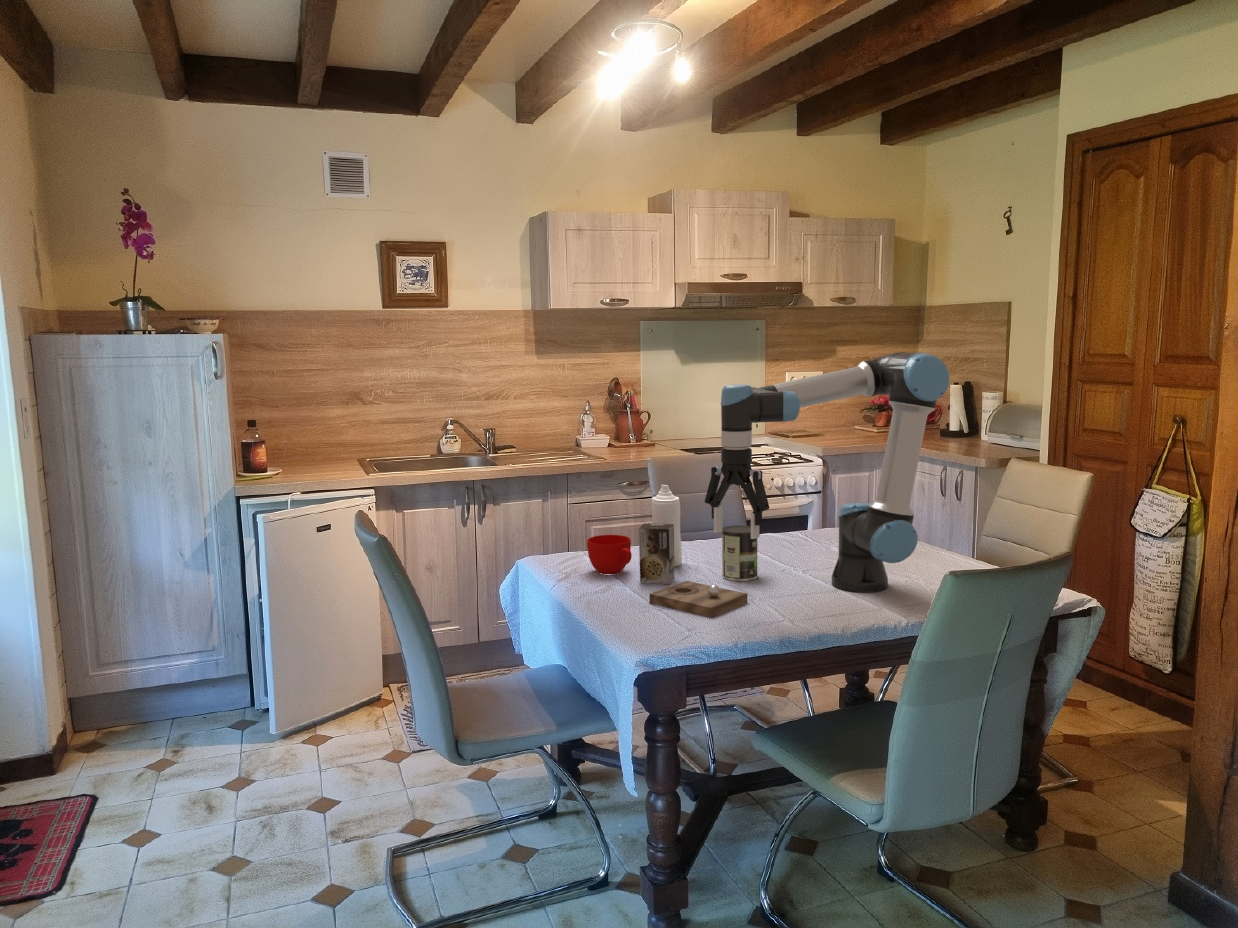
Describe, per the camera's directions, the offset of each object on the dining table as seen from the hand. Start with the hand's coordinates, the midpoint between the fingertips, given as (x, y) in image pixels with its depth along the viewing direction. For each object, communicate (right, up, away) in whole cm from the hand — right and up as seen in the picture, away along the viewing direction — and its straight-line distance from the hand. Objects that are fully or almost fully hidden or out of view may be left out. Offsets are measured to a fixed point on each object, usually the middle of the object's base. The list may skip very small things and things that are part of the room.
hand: (736, 534), depth 236 cm
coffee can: (+5, -15, +35) cm, 39 cm away
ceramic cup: (-31, -15, +41) cm, 53 cm away
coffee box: (-18, -16, +33) cm, 41 cm away
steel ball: (-5, -15, +7) cm, 17 cm away
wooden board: (-9, -19, +11) cm, 23 cm away
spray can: (-15, -13, +50) cm, 54 cm away
